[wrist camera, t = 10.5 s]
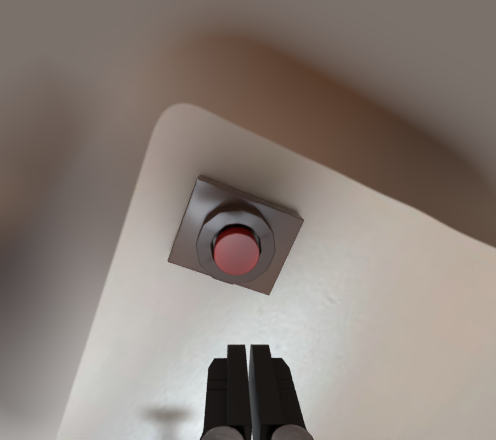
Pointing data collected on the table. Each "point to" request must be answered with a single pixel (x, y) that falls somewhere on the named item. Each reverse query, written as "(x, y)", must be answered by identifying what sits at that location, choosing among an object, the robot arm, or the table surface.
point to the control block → (234, 215)
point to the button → (236, 251)
